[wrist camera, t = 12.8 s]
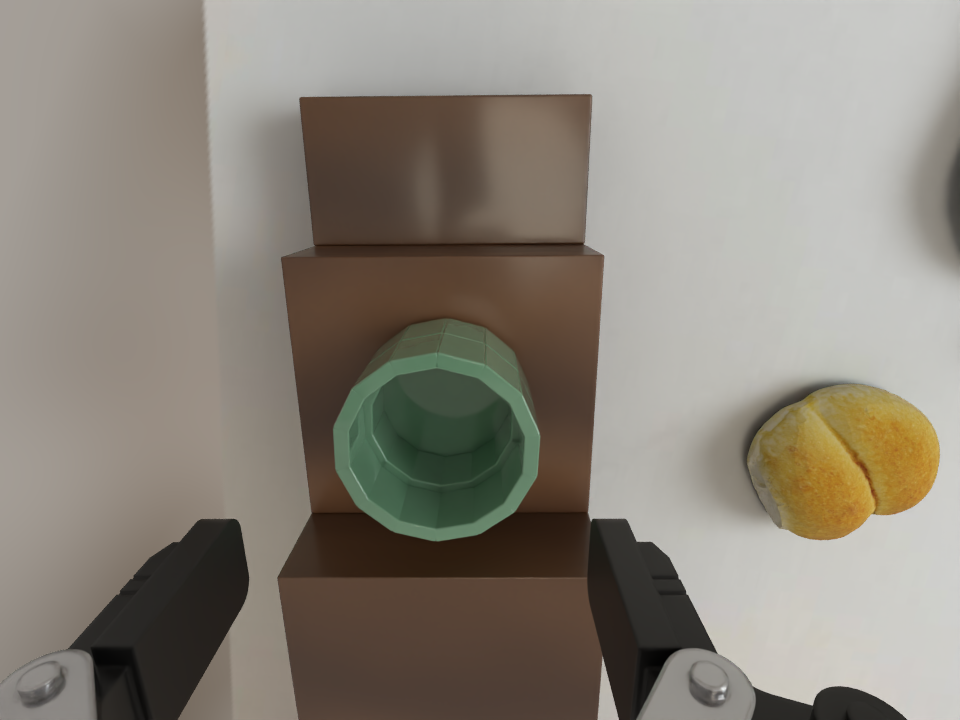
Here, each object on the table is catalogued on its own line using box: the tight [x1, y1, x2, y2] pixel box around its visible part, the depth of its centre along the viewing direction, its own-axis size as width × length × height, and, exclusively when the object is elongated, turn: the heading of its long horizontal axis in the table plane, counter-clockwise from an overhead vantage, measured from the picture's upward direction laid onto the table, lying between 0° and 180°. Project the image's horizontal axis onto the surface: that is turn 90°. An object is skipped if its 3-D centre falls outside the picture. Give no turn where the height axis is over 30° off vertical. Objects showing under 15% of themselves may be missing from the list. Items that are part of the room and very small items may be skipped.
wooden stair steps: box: [278, 94, 604, 720], centre depth 28 cm, size 61×12×11 cm, turn 0°
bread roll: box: [747, 384, 940, 540], centre depth 28 cm, size 8×9×4 cm
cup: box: [333, 318, 540, 541], centre depth 19 cm, size 6×6×5 cm
